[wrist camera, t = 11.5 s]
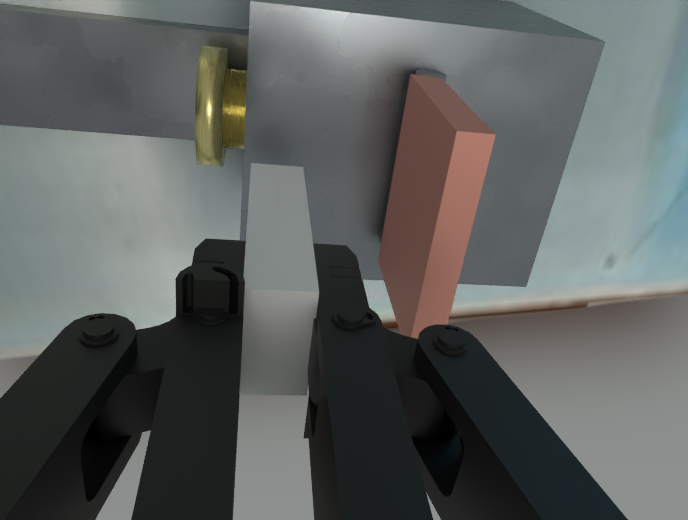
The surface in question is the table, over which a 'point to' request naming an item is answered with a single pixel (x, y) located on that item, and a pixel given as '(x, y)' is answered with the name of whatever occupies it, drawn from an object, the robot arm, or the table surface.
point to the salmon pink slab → (432, 201)
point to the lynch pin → (218, 106)
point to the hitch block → (329, 101)
